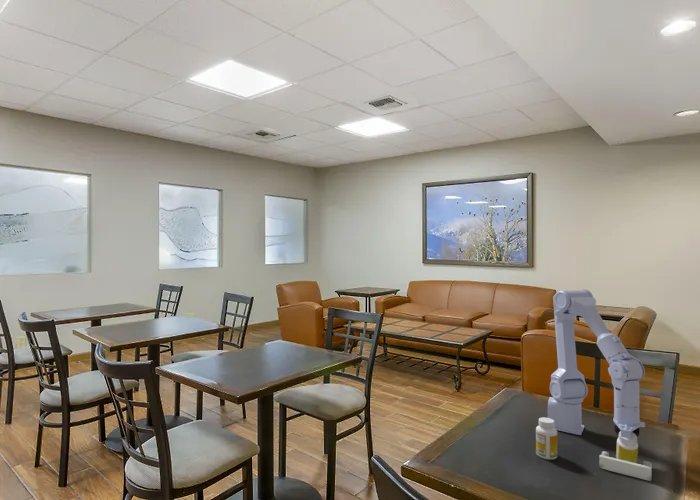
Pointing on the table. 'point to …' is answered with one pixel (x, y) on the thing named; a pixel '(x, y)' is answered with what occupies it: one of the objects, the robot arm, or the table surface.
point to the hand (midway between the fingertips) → (627, 454)
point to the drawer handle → (625, 467)
